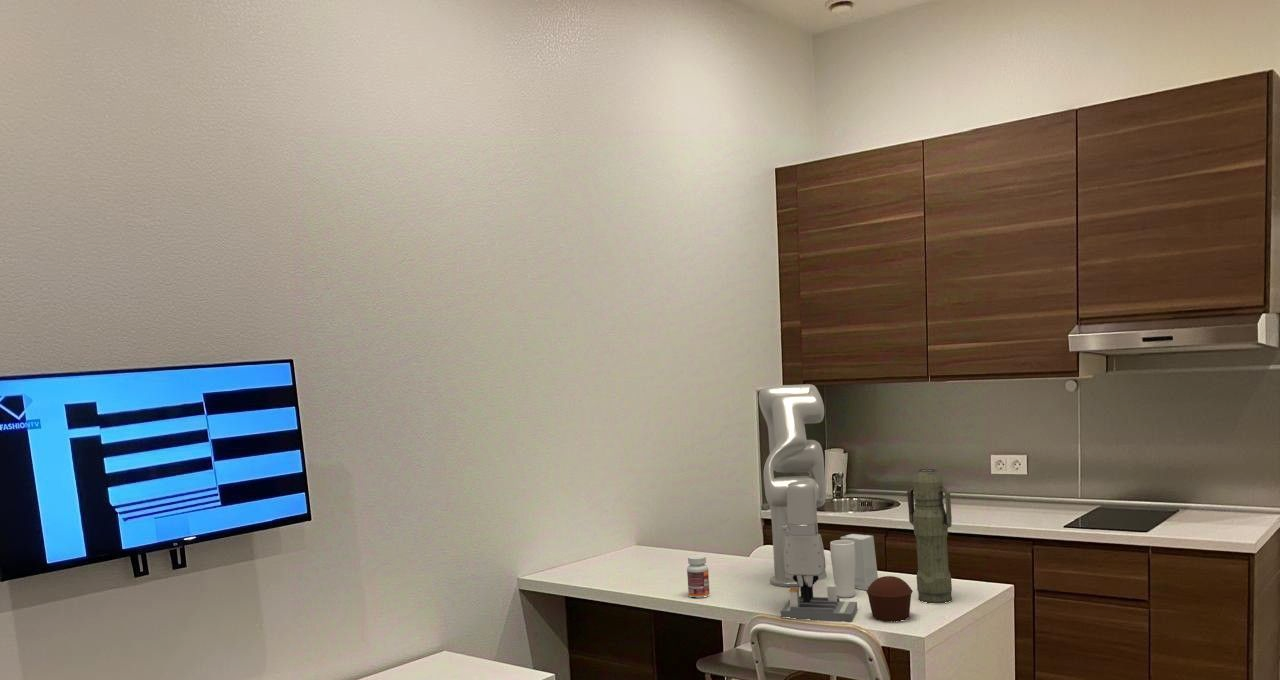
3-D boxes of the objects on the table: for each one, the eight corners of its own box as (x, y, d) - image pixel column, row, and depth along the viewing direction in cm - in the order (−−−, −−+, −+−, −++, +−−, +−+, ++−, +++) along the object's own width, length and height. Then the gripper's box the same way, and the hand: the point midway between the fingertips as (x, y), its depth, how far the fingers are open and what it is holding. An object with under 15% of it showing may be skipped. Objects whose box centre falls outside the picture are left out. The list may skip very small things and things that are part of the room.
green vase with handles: (919, 593, 254) (911, 467, 256) (962, 598, 247) (954, 468, 248) (907, 601, 248) (899, 471, 249) (950, 606, 240) (942, 472, 242)
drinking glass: (840, 591, 261) (836, 539, 262) (861, 594, 257) (858, 540, 258) (828, 597, 256) (825, 543, 257) (850, 600, 252) (847, 545, 252)
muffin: (895, 626, 225) (892, 585, 225) (858, 618, 233) (856, 578, 234) (923, 616, 232) (920, 576, 233) (886, 608, 241) (884, 570, 241)
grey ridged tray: (789, 606, 248) (788, 582, 248) (857, 609, 242) (855, 584, 242) (780, 618, 237) (779, 592, 237) (851, 621, 230) (850, 595, 231)
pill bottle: (709, 598, 262) (707, 558, 262) (687, 599, 262) (685, 559, 263) (709, 593, 268) (707, 554, 268) (688, 593, 268) (686, 555, 269)
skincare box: (879, 587, 264) (876, 535, 265) (865, 591, 261) (862, 538, 261) (856, 582, 271) (853, 532, 272) (842, 586, 267) (839, 535, 268)
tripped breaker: (791, 606, 239) (790, 587, 240) (799, 607, 239) (798, 587, 239) (790, 609, 237) (789, 589, 237) (798, 609, 236) (797, 590, 237)
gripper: (771, 532, 237) (775, 603, 236) (830, 532, 232) (834, 605, 231) (777, 527, 244) (781, 596, 243) (834, 527, 239) (838, 598, 238)
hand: (807, 600), depth 237 cm, fingers closed
